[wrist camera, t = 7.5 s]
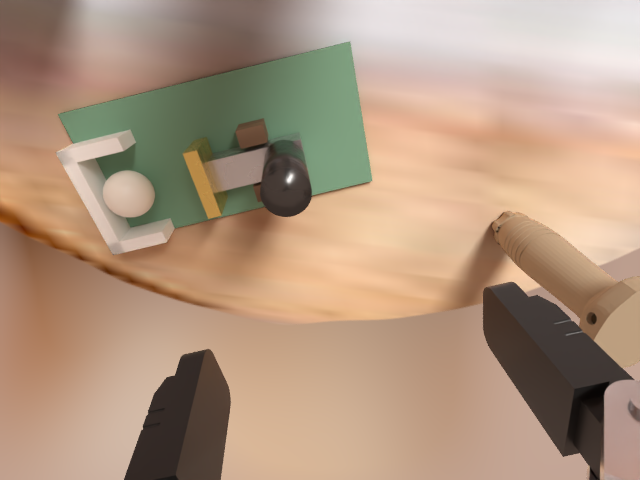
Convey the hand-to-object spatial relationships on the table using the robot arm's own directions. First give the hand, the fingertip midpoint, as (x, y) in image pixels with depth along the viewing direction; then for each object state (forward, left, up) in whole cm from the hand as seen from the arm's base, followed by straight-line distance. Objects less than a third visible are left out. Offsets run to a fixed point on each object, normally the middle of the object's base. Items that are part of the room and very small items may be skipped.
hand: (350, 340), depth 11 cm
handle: (+12, +17, -23) cm, 31 cm away
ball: (0, -14, -21) cm, 25 cm away
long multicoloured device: (0, -4, -22) cm, 22 cm away
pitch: (-1, -6, -23) cm, 24 cm away
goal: (0, -15, -23) cm, 27 cm away
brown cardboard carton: (0, -4, -23) cm, 23 cm away
